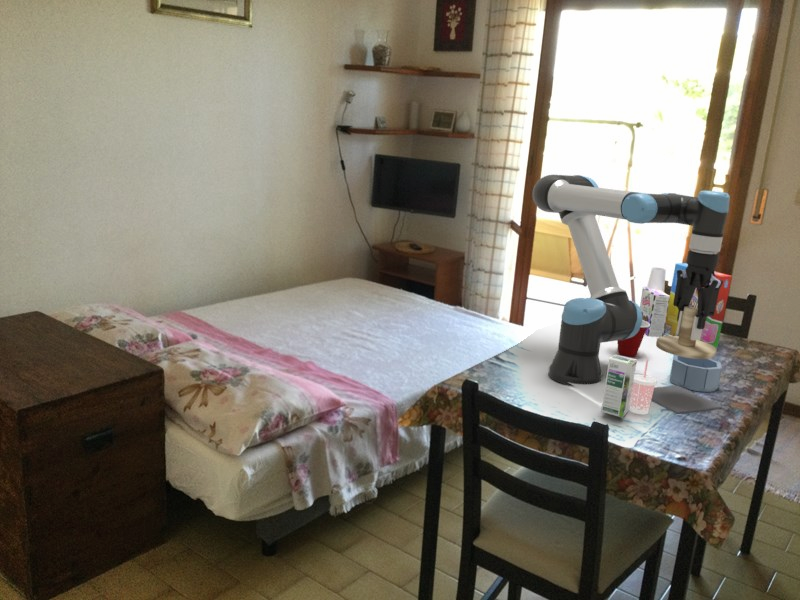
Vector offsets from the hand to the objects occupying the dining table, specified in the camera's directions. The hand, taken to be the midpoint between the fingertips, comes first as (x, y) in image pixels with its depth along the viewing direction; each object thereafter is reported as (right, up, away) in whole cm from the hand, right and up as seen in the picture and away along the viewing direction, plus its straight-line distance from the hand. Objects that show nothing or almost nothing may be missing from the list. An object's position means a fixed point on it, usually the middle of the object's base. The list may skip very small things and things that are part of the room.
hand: (687, 336), depth 182 cm
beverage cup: (-15, -19, -6) cm, 25 cm away
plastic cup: (-2, -8, +42) cm, 43 cm away
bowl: (+9, -15, +18) cm, 25 cm away
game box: (+26, -6, +61) cm, 67 cm away
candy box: (+15, -3, +69) cm, 71 cm away
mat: (-1, -17, +4) cm, 18 cm away
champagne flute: (+16, -2, +73) cm, 75 cm away
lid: (0, -4, +1) cm, 4 cm away
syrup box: (-22, -19, -8) cm, 30 cm away
